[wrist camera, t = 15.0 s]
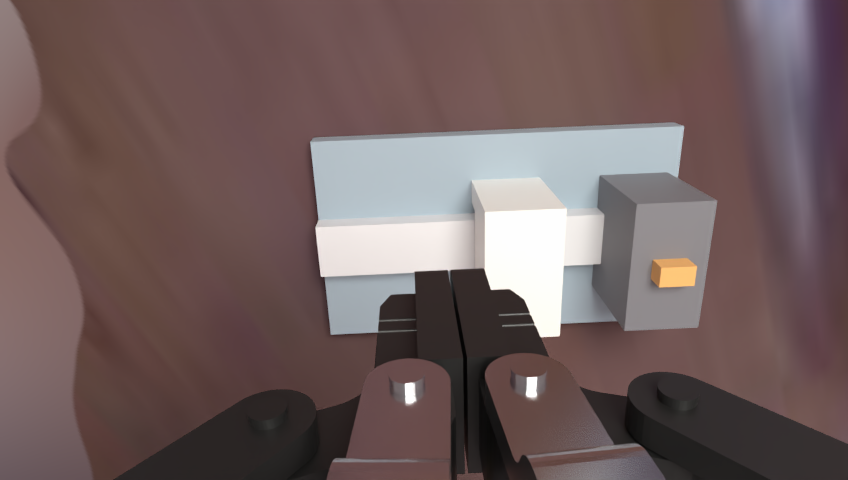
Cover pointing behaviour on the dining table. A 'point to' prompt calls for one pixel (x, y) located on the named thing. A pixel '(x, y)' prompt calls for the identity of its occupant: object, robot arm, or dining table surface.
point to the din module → (522, 244)
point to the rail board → (507, 159)
